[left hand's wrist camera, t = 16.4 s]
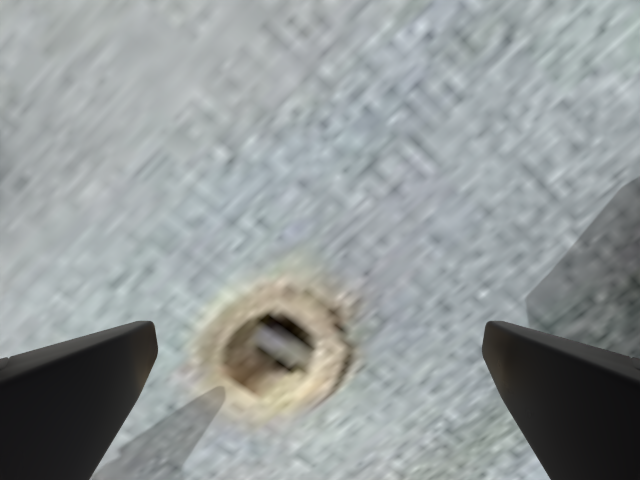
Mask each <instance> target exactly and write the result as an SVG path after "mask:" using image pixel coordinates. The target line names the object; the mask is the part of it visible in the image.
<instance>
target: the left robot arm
mask: <svg viewBox="0 0 640 480" xmlns="http://www.w3.org/2000/svg"><path fill="white" fill-rule="evenodd" d="M157 354H158V345H157V338H156V332H155V326H154V324H153V322H151V321H136V322H132V323H129V324H125V325H122V326H118V327H114V328H111V329H107V330H104V331H100V332H97V333H93V334H89V335H86V336H82V337H79V338H75V339H72V340H68V341H65V342H61V343H57V344H54V345H50V346H47V347H43V348H40V349H36V350H33V351H29V352H25V353H22V354H18V355H15V356H11V357H10V358H7V357H6V358H2V359H0V480H89V479H90V478H91V476H92V474H93V473H94V471H95V469H96V468H97V466H98V464H99V463H100V461H101V459H102V458H103V456H104V454H105V453H106V451H107V449H108V448H109V446H110V444H111V443H112V441H113V440H114V438H115V436H116V435H117V433H118V431H119V430H120V428H121V426H122V425H123V423H124V421H125V420H126V418H127V416H128V415H129V413H130V411H131V410H132V408H133V406H134V405H135V403H136V401H137V399H138V398H139V396H140V394H141V392H142V389H143V387H144V385H145V383H146V380H147V378H148V376H149V374H150V371H151V369H152V367H153V365H154V362H155V360H156V358H157ZM482 354H483V358H484V360H485V362H486V365H487V367H488V369H489V371H490V374H491V376H492V378H493V380H494V383H495V385H496V387H497V389H498V392H499V394H500V396H501V398H502V399H503V401H504V403H505V405H506V406H507V408H508V410H509V411H510V413H511V415H512V416H513V418H514V420H515V421H516V423H517V425H518V426H519V428H520V430H521V431H522V433H523V435H524V436H525V438H526V440H527V441H528V443H529V444H530V446H531V448H532V449H533V451H534V453H535V454H536V456H537V458H538V459H539V461H540V463H541V464H542V466H543V468H544V469H545V471H546V473H547V474H548V476H549V478H550V479H551V480H640V359H638V358H634V357H633V358H630V357H629V356H625V355H622V354H618V353H615V352H611V351H607V350H604V349H600V348H597V347H593V346H590V345H586V344H583V343H579V342H575V341H572V340H568V339H565V338H561V337H558V336H554V335H551V334H547V333H543V332H540V331H536V330H533V329H529V328H526V327H522V326H518V325H515V324H511V323H508V322H504V321H489V322H487V324H486V326H485V332H484V338H483V345H482Z"/></svg>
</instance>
